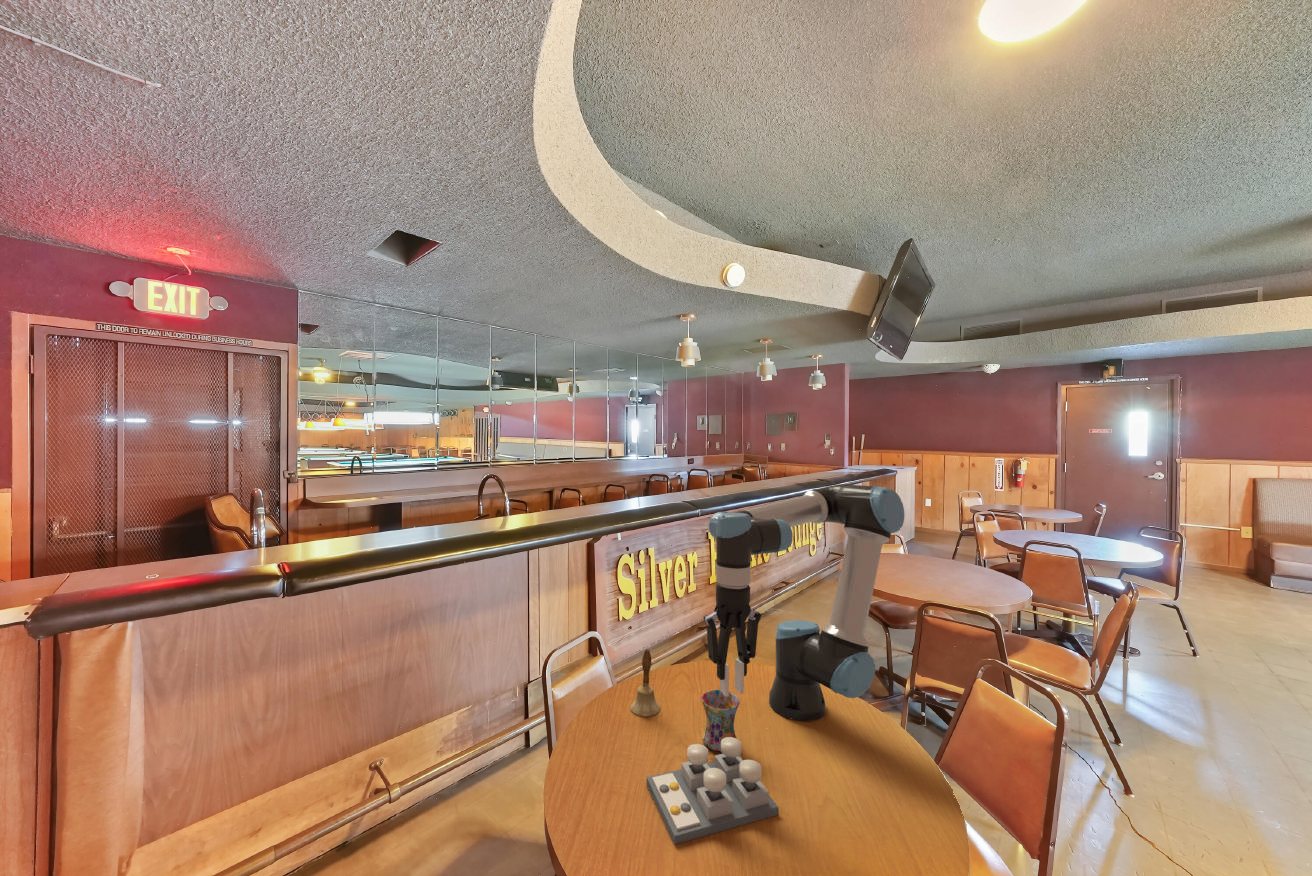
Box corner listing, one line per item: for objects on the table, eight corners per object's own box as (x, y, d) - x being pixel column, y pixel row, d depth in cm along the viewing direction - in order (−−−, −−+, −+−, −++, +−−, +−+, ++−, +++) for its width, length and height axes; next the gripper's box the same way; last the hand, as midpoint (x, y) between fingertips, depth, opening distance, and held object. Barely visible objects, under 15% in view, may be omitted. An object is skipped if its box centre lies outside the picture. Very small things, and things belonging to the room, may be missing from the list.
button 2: (753, 776, 96) (754, 757, 97) (765, 791, 92) (765, 771, 92) (735, 781, 95) (735, 762, 95) (746, 796, 91) (746, 776, 91)
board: (737, 762, 106) (737, 745, 106) (778, 814, 91) (778, 794, 91) (646, 784, 99) (646, 766, 99) (674, 844, 84) (674, 822, 84)
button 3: (702, 760, 101) (702, 742, 101) (711, 773, 97) (711, 754, 97) (683, 764, 100) (684, 746, 100) (692, 778, 96) (692, 759, 96)
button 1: (734, 753, 104) (735, 735, 104) (744, 765, 100) (745, 747, 100) (717, 757, 102) (717, 739, 103) (726, 770, 98) (726, 751, 98)
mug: (741, 756, 108) (741, 710, 109) (701, 754, 109) (702, 708, 109) (735, 726, 120) (735, 685, 121) (699, 724, 121) (700, 683, 121)
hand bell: (642, 697, 134) (643, 641, 134) (666, 707, 129) (667, 648, 130) (624, 710, 127) (625, 651, 128) (648, 720, 122) (649, 659, 123)
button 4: (719, 785, 94) (719, 765, 94) (730, 801, 90) (730, 780, 90) (699, 790, 92) (699, 770, 92) (709, 806, 88) (709, 785, 88)
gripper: (755, 576, 109) (754, 678, 108) (692, 582, 103) (691, 689, 102) (773, 585, 102) (772, 694, 101) (707, 591, 96) (706, 707, 95)
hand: (731, 691), depth 102 cm, fingers open, 3 cm apart
